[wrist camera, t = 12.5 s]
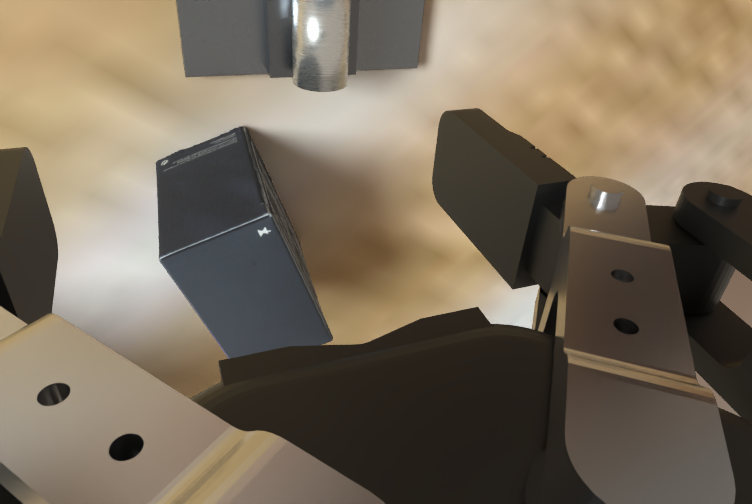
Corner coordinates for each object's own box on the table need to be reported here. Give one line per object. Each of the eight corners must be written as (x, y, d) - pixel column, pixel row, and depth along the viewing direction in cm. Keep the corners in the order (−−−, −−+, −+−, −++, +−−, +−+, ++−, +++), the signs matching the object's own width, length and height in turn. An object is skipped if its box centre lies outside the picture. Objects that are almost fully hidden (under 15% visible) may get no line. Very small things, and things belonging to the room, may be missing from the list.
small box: (146, 161, 36) (149, 259, 28) (244, 121, 37) (274, 207, 29) (220, 279, 43) (239, 385, 35) (302, 243, 44) (339, 340, 36)
